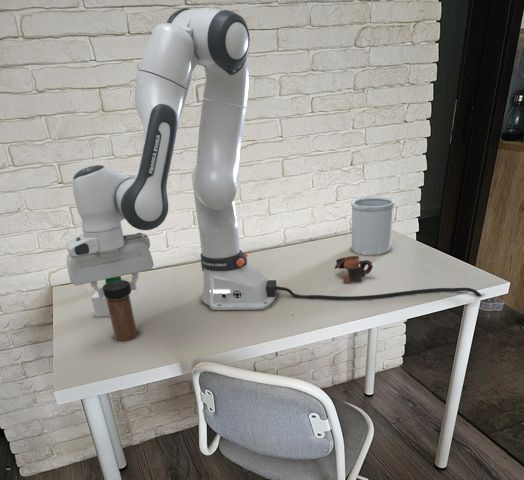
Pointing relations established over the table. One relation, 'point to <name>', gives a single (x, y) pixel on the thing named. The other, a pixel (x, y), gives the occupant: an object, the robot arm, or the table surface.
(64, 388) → the table surface
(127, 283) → the lid
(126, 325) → the coffee jar
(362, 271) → the pottery mug
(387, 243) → the utensil holder
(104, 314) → the white cube
